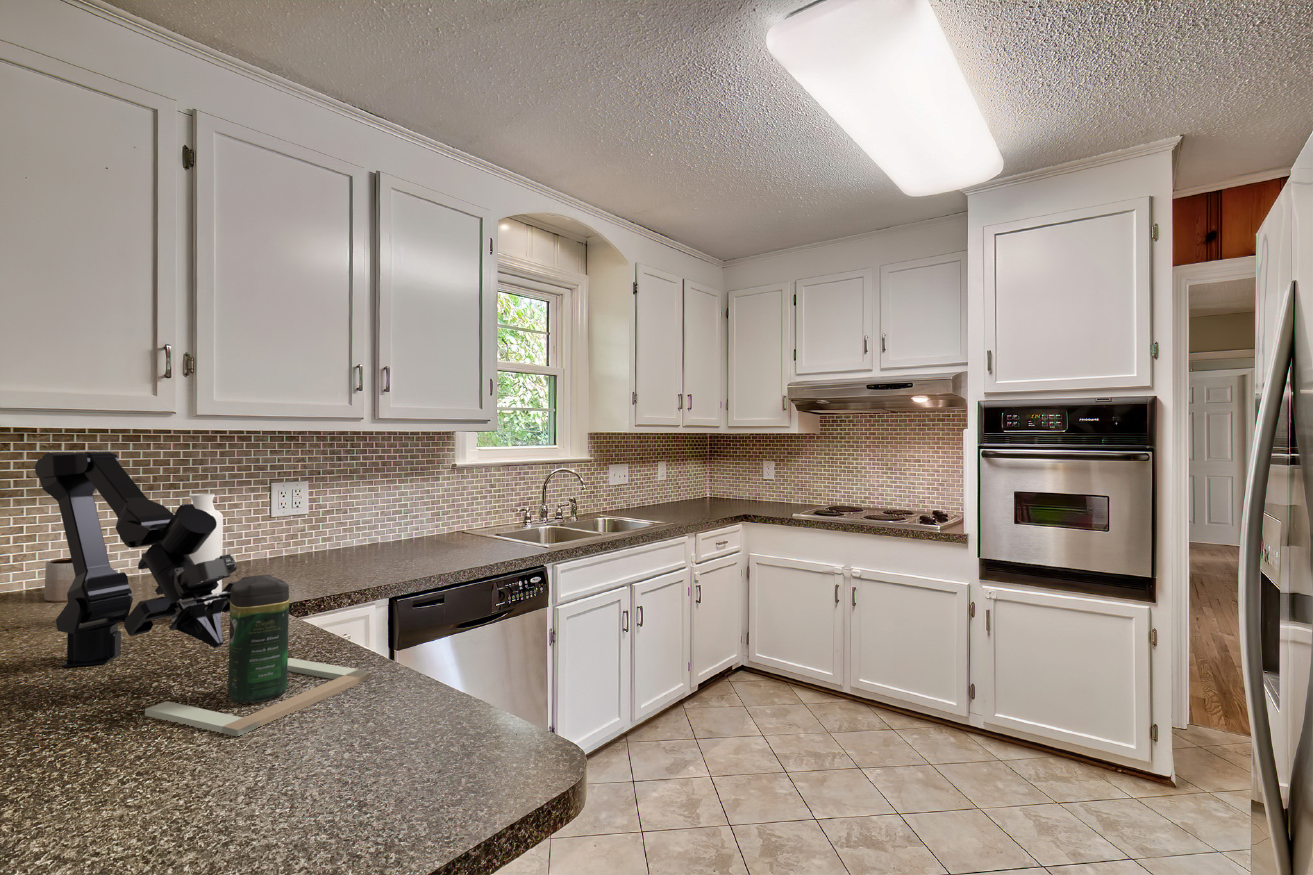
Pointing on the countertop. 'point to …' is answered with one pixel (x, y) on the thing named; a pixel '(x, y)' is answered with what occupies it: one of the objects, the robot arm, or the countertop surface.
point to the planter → (58, 579)
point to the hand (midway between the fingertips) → (219, 645)
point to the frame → (240, 725)
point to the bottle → (215, 541)
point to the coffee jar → (258, 638)
